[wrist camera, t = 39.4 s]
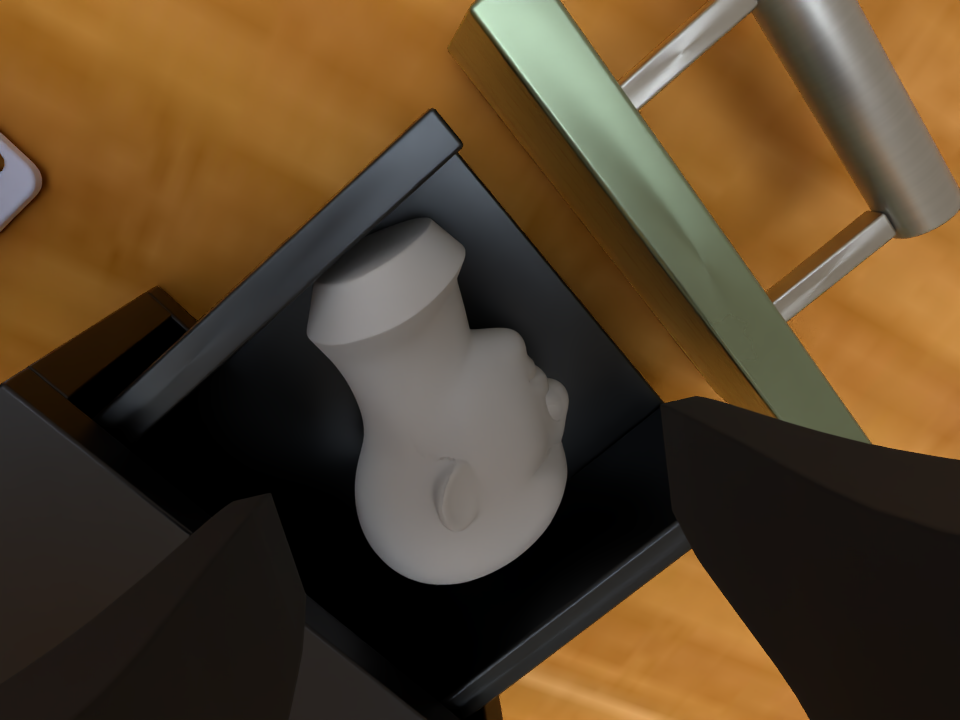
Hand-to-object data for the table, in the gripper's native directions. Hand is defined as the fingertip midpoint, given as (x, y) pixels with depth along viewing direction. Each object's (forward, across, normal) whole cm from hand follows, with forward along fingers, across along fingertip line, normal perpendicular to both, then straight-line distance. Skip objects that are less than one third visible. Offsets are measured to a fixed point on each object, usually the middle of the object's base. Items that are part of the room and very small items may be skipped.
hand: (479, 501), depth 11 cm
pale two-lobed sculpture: (+6, 0, 0) cm, 6 cm away
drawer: (+7, -1, -1) cm, 7 cm away
